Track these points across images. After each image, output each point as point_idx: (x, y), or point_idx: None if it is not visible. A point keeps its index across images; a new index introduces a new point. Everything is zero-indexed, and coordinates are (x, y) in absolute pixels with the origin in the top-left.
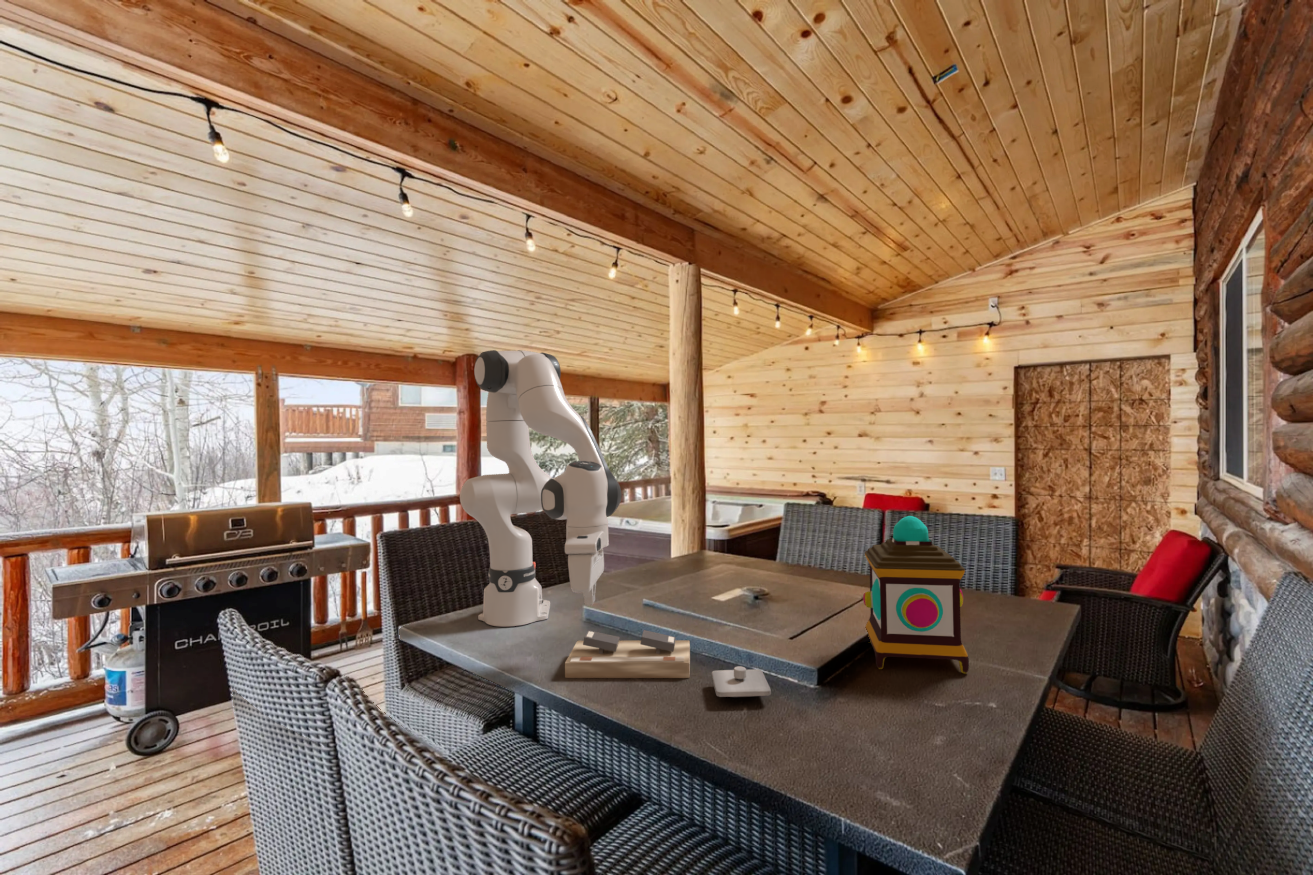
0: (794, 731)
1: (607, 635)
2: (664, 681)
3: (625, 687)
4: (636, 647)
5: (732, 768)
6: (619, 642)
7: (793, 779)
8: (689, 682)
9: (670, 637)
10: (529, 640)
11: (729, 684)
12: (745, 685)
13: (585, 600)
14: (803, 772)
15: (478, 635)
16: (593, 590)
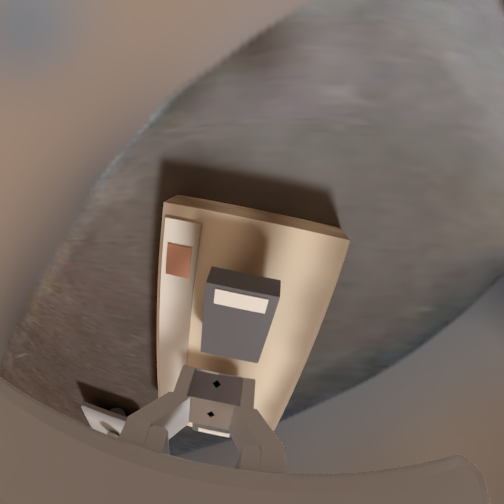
0: (63, 413)
1: (255, 341)
2: (152, 371)
3: (125, 313)
4: (251, 373)
5: (6, 352)
6: (296, 346)
7: (11, 377)
8: (150, 395)
9: (224, 434)
10: (463, 108)
11: (100, 421)
12: (101, 429)
13: (178, 382)
14: (19, 386)
15: (490, 15)
16: (237, 442)
